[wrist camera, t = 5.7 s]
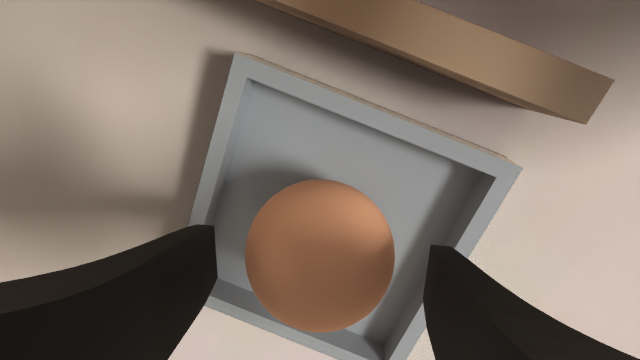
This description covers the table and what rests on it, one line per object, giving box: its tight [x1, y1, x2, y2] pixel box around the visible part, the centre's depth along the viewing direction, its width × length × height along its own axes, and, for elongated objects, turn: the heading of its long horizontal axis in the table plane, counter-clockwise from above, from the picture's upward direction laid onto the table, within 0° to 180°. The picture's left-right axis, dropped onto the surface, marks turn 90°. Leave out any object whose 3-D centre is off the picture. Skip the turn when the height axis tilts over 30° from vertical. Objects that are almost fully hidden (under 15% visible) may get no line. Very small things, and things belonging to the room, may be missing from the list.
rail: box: [256, 0, 614, 124], centre depth 11 cm, size 14×1×4 cm, turn 69°
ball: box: [245, 179, 395, 333], centre depth 12 cm, size 5×5×5 cm
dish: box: [188, 53, 523, 360], centre depth 14 cm, size 10×10×2 cm
